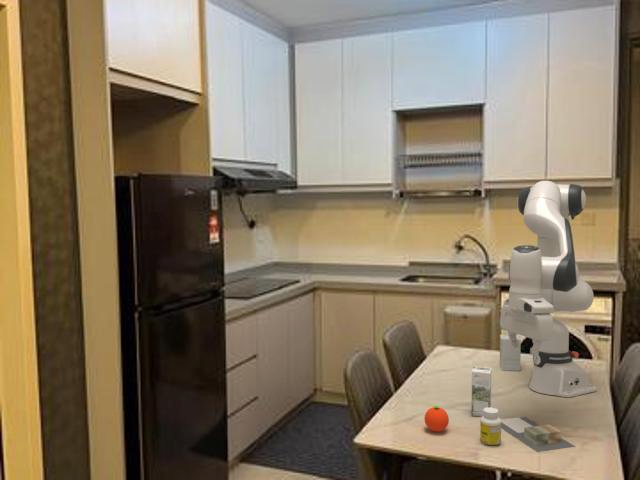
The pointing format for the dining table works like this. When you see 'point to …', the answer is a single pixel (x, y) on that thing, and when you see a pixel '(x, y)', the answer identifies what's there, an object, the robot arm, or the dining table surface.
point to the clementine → (436, 419)
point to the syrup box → (480, 390)
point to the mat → (517, 430)
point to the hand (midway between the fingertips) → (524, 350)
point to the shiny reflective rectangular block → (542, 435)
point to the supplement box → (509, 354)
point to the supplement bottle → (490, 428)
